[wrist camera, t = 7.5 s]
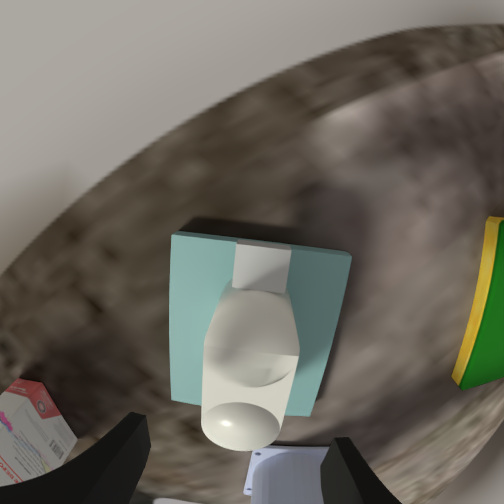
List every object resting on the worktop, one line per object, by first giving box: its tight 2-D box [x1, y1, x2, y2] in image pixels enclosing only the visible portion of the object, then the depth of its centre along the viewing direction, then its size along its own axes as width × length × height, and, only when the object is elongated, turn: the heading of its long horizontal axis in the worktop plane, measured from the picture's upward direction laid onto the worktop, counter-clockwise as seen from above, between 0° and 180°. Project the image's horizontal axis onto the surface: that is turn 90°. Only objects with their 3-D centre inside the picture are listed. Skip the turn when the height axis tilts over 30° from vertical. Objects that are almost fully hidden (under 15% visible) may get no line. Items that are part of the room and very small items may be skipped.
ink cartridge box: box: [0, 378, 77, 486], centre depth 15 cm, size 9×5×15 cm, turn 9°
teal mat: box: [169, 231, 352, 416], centre depth 18 cm, size 12×10×1 cm
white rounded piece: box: [201, 239, 300, 451], centre depth 15 cm, size 11×4×5 cm, turn 174°
